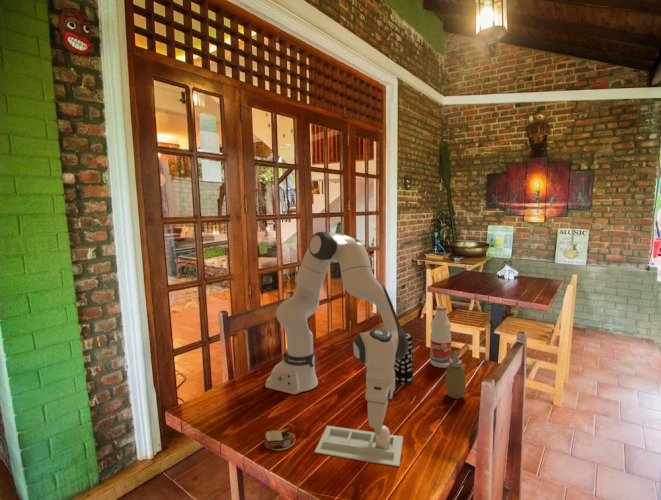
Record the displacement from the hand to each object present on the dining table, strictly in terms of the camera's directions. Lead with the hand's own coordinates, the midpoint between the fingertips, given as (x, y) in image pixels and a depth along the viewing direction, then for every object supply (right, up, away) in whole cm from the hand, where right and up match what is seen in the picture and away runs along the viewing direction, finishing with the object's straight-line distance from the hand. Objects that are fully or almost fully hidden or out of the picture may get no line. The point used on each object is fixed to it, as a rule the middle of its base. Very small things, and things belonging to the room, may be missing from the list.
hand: (380, 424), depth 113 cm
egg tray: (-6, -8, +3) cm, 10 cm away
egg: (+1, -8, +1) cm, 8 cm away
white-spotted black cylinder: (+16, -3, +46) cm, 49 cm away
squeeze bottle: (+34, -4, +32) cm, 47 cm away
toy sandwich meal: (-32, -9, +5) cm, 34 cm away
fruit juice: (+37, 0, +61) cm, 71 cm away
